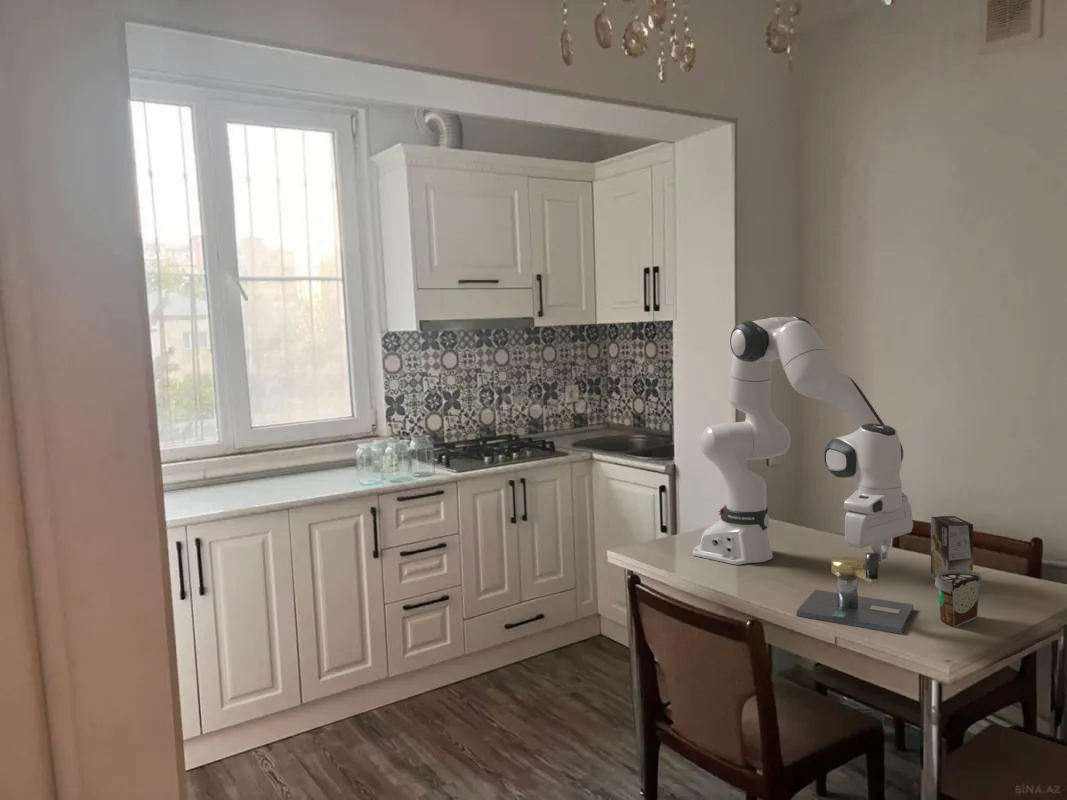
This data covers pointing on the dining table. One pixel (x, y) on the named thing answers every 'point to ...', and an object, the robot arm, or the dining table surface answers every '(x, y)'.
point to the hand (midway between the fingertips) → (880, 559)
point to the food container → (958, 596)
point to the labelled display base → (856, 608)
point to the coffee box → (951, 545)
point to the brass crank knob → (857, 567)
